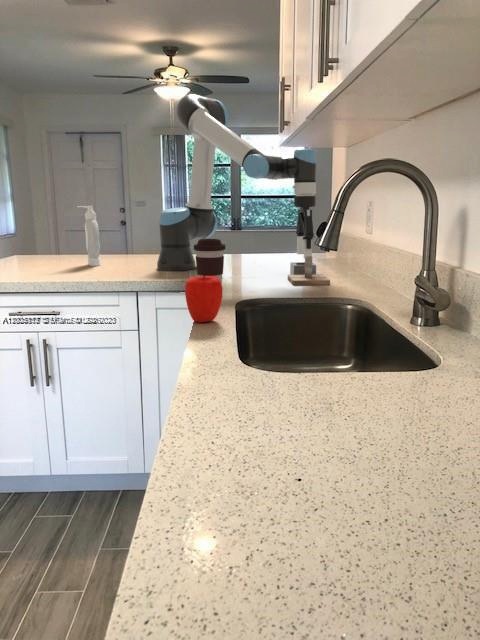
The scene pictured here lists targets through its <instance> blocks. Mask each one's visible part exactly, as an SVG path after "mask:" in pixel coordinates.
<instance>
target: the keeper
mask: <svg viewBox="0 0 480 640" xmlns="http://www.w3.org/2000/svg"><path fill="white" fill-rule="evenodd" d="M304 262H305V275H291V274H288V275H287V280H288V281H289V282H290V283H291V285H292V286H320V285H321V286H327V285H328V286H331V280H330V278H328V277H327V276H326V275H323V274H322V273H321V274H319V273H318V274H317V273H316V274H313V275H312V263H313V255H312V256H305V259H304Z"/></svg>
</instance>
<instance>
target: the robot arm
mask: <svg viewBox="0 0 480 640" xmlns="http://www.w3.org/2000/svg"><path fill="white" fill-rule="evenodd" d="M175 111H176V117H177V120H178V122H179V123H180V124H181V125H182V126H183V127H184V128H185V129H187V130H188V131H189V132H190V134H191V136H192V138H193V139H194V140H193V149H192V161H191V162H192V163H191V177H190V187H189V199H188V201H187V202H186V203H184V207H173V208H167V209H164V210H161V211H160V213H159V221H158V223H159V238H160V239H159V240H160V252H159V255H158V259H157V263H156V267H157V270H159V271H167V272H173V271H174V272H175V271H176V272H179V271H181V272H182V271H190V270H195V269H196V259H195V257H194V254H193V252H192V250H191V241H194V240H200V239H209V238H210V237H211V236H212V235H214V233H216V230H217V228H218V223H219V221H218V217H217V215H216V214H215V212H214V206H213V204H211V199H212V190H213V189H212V188H213V177H214V167H215V157H216V148H217V149H218V150H219V151H220V152H222V153H223V154H224V155H226V156H228V158H230V159H231V160H233V161H234V162H236V164H238V165H239V166H240V167H241V168H243V171H244V174H245V175H247V176H248V177H249V178H253V179H256V180H257V179H267V180H273V181H274V180H275V181H276V180H286V179H293V183H294V185H293V186H292V189H293V191H294V192H293V195H295V196H294V197H293V206H294V207H295V208H298V209H297V219H296V220H297V221H296V232H295V233H296V238H297V239H296V244H297V245H296V253H297V254H296V255H303V259H304V260H305V256H312V257H313V239H314V237H315V235H314V226H313V225H314V224H313V223H314V222H313V210H312V209H310V208H312V207H313V208H314V207H316V202H317V201H316V198H317V197H316V196H315V195H316V194H317V182H316V181H317V179H316V177H317V173H316V171H317V153H316V150H315V149H313V148H298V149H295V150H294V153H293V155H291V156H274V155H265V154H263V152H261V151H259V150H258V149H257V148H255V147H254V146H253V145H252V144H250V143H249V142H247V141H246V140H245V139H243V138H242V137H240V136H239V135H238V134H236V133H235V132H234V131H233V130H231V129H229V128H228V127H227V126H228V122H229V114H228V109H227V108H226V106H225V104H224V103H223V102H222V101H220V100H218V99H215V98H211V97H207V96H202V95H198V94H193V93H192V94H188V95H185V96H183V97H182V98H181V99H180V100H179V102H178V103H177V105H176V110H175Z"/></svg>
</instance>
